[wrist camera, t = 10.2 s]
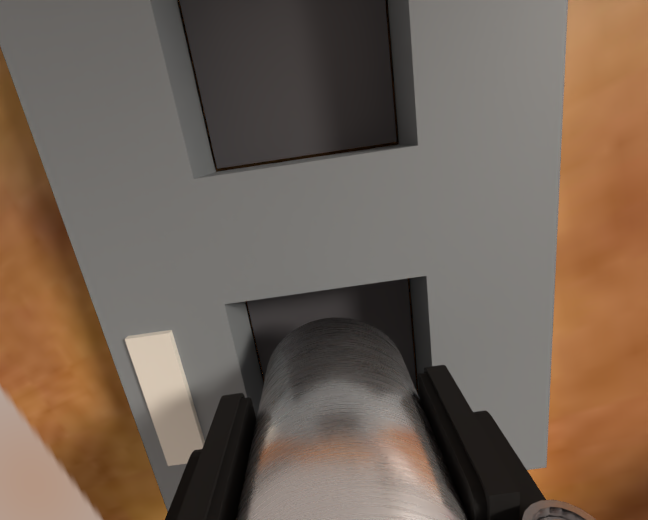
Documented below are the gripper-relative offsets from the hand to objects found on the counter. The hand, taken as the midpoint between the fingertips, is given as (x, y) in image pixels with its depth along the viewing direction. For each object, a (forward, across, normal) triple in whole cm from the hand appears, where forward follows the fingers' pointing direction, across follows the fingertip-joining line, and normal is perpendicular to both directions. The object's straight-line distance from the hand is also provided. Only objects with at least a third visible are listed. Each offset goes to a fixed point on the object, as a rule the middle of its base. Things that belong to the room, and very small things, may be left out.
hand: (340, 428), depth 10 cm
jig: (+5, 0, -5) cm, 7 cm away
